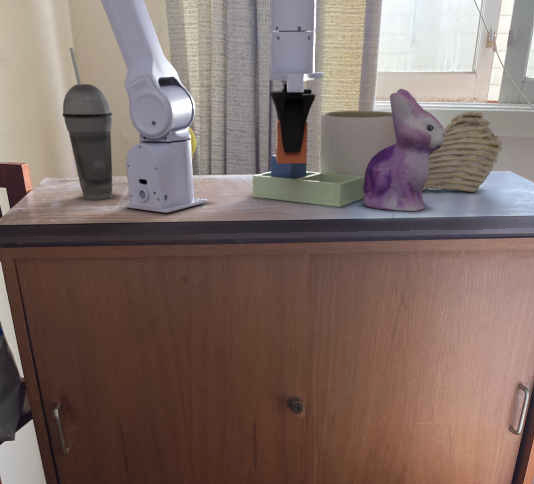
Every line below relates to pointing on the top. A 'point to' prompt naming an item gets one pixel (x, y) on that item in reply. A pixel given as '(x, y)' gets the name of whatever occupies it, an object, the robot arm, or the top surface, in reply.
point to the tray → (310, 188)
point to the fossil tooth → (464, 154)
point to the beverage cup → (90, 137)
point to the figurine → (403, 158)
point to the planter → (353, 140)
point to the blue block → (287, 169)
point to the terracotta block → (290, 157)
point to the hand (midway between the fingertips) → (291, 150)
